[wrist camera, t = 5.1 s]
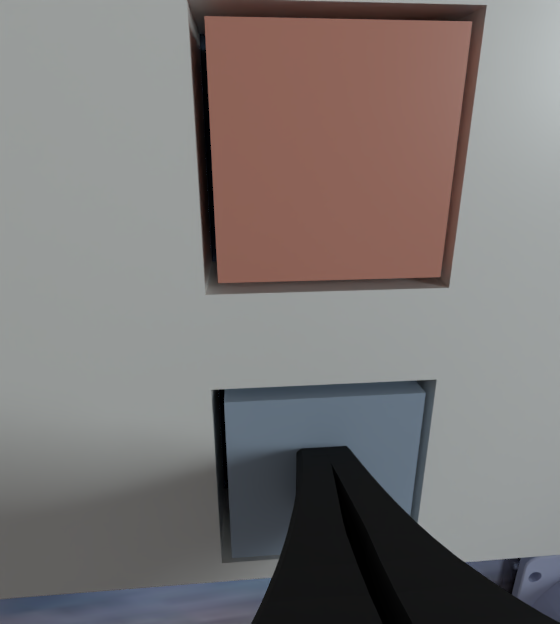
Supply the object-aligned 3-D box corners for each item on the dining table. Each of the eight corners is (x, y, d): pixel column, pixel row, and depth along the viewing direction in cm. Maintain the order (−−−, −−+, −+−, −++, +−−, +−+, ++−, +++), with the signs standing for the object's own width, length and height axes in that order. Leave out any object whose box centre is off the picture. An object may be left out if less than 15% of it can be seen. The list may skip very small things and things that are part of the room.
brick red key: (398, 248, 13) (440, 277, 10) (222, 252, 13) (217, 283, 10) (416, 49, 11) (472, 21, 9) (212, 46, 11) (204, 15, 8)
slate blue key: (377, 476, 16) (406, 544, 13) (232, 485, 16) (232, 557, 13) (389, 344, 14) (425, 392, 11) (226, 351, 14) (224, 402, 11)
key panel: (546, 483, 17) (607, 551, 14) (41, 516, 16) (-2, 599, 13) (664, 10, 12) (798, -31, 9) (-83, -7, 10) (-203, -62, 7)
